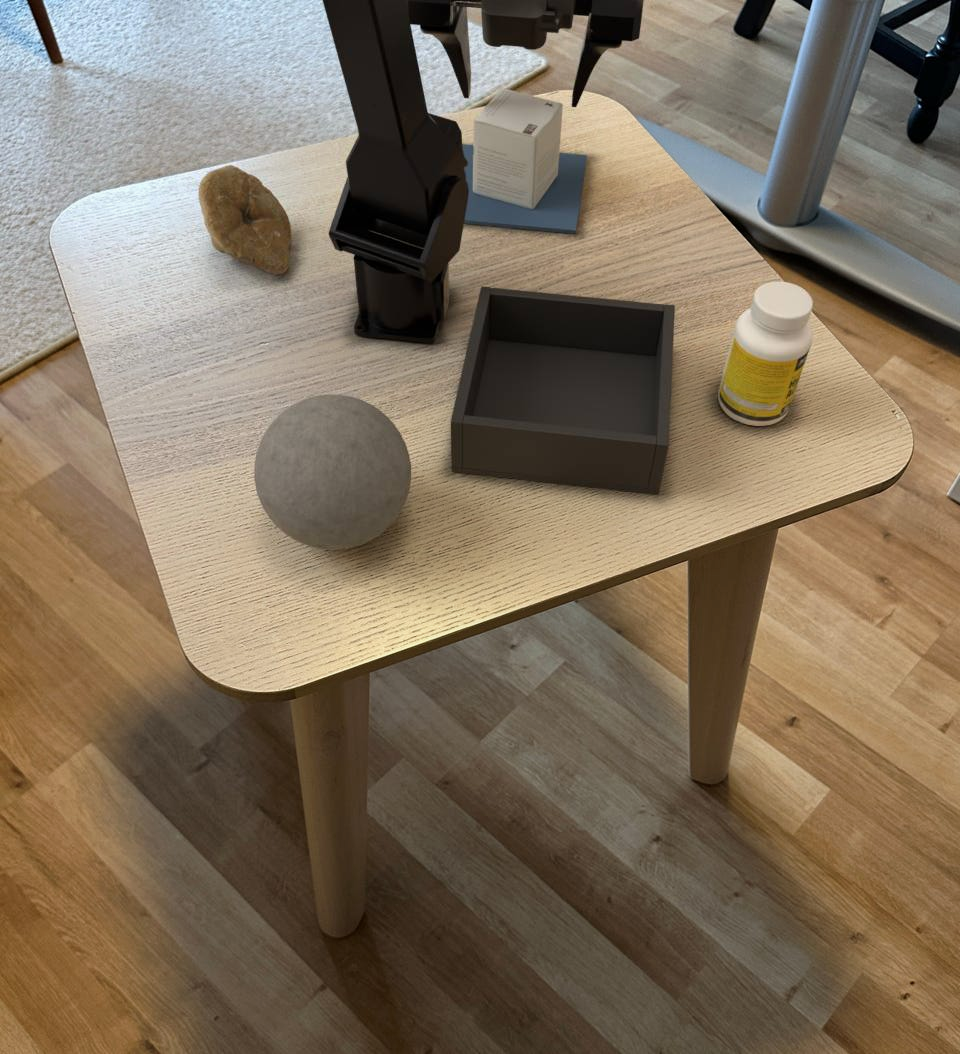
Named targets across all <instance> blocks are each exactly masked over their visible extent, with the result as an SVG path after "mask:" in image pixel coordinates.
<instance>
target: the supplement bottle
mask: <svg viewBox="0 0 960 1054" xmlns="http://www.w3.org/2000/svg"><path fill="white" fill-rule="evenodd" d="M813 307H814V301H813V298H812V296H811V294H809V292H808V291H807V290H805V289H804V288H803V287H801V286H800V285H797V284H796V283H795V284H794V283H791V282H787V281H770V282H767V283H766V282H765V283H764V284H761V285H760V286H759V287H758V288H757V289H756V290H755V291H754V294H753V297H752V300H751V304H750V308H748V309H746V310H745V311H744V312H742V313H741V314H740V316H738V318H737V321H736V323H735V326H734V330H733V332H732V338H731V341H730V345H729V349H728V352H727V356H726V361H725V364H724V367H723V372H722V375H721V378H720V383H719V387H718V391H717V401H718V404H719V405H720V408H721V409H722V411H723V412H724V413H725V414H726V415H727V416H728V417H730V418H731V419H733V420H735V421H736V422H738V423H741V424H744V425H749V426H756V427H763V426H771V425H774V424H776V423H779V422H781V420H783V419H784V418H785V417H786V416H787V414H788V413H789V411H790V408H791V406H792V403H793V400H794V397H795V393H796V392H797V391H796V390H797V388H798V384H799V382H800V378H801V376H802V373H803V369H804V367H805V363H806V361H807V358H808V355H809V353H810V350H811V346H812V343H813V342H812V341H813V330H812V327H811V325H810V323H809V320H810V318H811V313H812V311H813Z"/></svg>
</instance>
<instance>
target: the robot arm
mask: <svg viewBox="0 0 960 1054" xmlns="http://www.w3.org/2000/svg"><path fill="white" fill-rule="evenodd" d="M321 1H322V4H323V8H324V12H325V15H326V18H327V23H328V26H329V30H330V34H331V36H332V40H333V41H332V42H333V44H334V48H335V52H336V55H337V59H338V62H339V66H340V70H341V73H342V77H343V80H344V83H345V87H346V91H347V95H348V98H349V99H348V100H349V102H350V106H351V109H352V114H353V116H354V117H353V118H354V120H355V124H356V127H357V134H358V135H357V137H356V139H355V142H354V143H353V146H352V148H351V150H350V152H349V154H348V155H347V158H346V159H345V169H346V174H347V177H346V180H345V183H344V185H343V189H342V192H341V195H340V198H339V200H338V203H337V207H336V209H335V213H334V215H333V218H332V221H331V224H330V227H329V230H328V237H329V239H330V242H331V243H332V247H334V249H335V250H336V251H338V252H345V253H348V254H351V255H353V266H354V267H353V268H354V276H355V277H354V278H355V288H356V298H357V308H358V313H357V317H356V320H355V323H354V325H353V331H354V334H355V335H356V336H359V337H368V338H378V339H388V340H396V341H397V340H398V341H406V342H417V343H427V344H431V343H434V342H435V341H436V338H437V335H438V330H439V327H440V324H442V323H443V322H445V320H446V317H447V312H448V309H449V304H450V271H449V269H450V268H449V267H450V266H449V265H450V264H449V263H450V262H452V260H453V259H454V257H455V256H456V255H457V254H458V253H459V252H460V250H461V244H462V236H463V231H464V225H465V224H464V221H465V215H466V209H467V203H468V196H469V188H468V183H467V181H466V174H465V170H464V167H466V166H467V165H468V161H467V159H466V158H465V156H464V152H463V146H462V144H463V133H462V130H461V128H460V126H459V124H458V122H457V120H454V119H450V118H446V117H443V116H440V115H437V114H433V113H430V112H428V106H427V101H426V96H425V92H424V86H423V82H422V81H423V80H422V77H421V71H420V67H419V66H420V65H419V61H418V56H417V51H416V46H415V41H414V36H413V31H412V25H413V26H414V25H415V26H419V29H420V31H421V33H422V34H425V35H430V36H432V37H434V38H435V39H436V40H438V41H439V42H440V45H442V47H443V50H444V51H445V53H446V55H447V57H448V59H449V62H450V64H451V67H452V70H453V72H454V75H455V77H456V80H457V83H458V85H459V88H460V91H461V94H462V96H463V98H464V99H470V96H471V88H472V64H471V52H470V51H471V48H470V36H469V23H468V22H469V21H468V9H467V8H475V9H481V11H480V12H481V28H482V29H481V31H482V40H483V42H484V43H485V44H486V45H487V46H489V47H493V48H494V47H495V48H501V47H504V46H506V47H517V48H523V49H525V50H529V51H531V50H532V51H534V50H535V51H536V50H539V49H542V47H544V46H545V44H546V42H547V36H548V34H549V33H551V34H559V32H560V30H562V29H564V30H571V29H572V28H573V21H574V16H581V17H587V21H586V28H585V30H584V31H585V32H584V35H583V40H582V45H581V50H580V54H579V59H578V65H577V67H576V73H575V77H574V82H573V88H572V93H571V94H572V95H571V107H572V108H577V106H578V105H579V102H580V100H581V97H582V95H583V93H584V91H585V88H586V87H587V84H588V82H589V80H590V77H591V76H592V73H593V70H594V69H595V66H596V65H597V64H598V62H599V60H600V59H601V57H602V56H603V54H604V53H606V52H607V51H608V49H613V50H615V49H616V50H617V49H619V48H621V46H622V45H623V42H634V41H636V40H640V37H641V36H640V34H641V28H642V27H641V26H642V19H643V11H644V1H645V0H321Z"/></svg>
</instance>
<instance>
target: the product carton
mask: <svg viewBox="0 0 960 1054" xmlns="http://www.w3.org/2000/svg"><path fill="white" fill-rule="evenodd" d="M563 106H564V105H563V103H562V102H558V101H554V100H551V99H550V100H549V99H546V98H542V97H538V96H534V95H532V94H531V95H530V94H527V93H523V92H520V91H516V90H513V89H509V88H504V87H502V88H500V89H499V90H498V92H496V94H495V95H494V96H493V97H492V98H491V100H490V101H489V102H488V103H487V104H486V105H485V106H484V108H483V109H482V110H481V111H480V112H479V113H478V114H477V116H476V117H475V118H474V119H473V134H472V136H473V137H472V138H473V140H472V141H473V142H472V145H473V192H474V193H475V194H478V195H481V196H485V197H489V198H492V199H496V200H500V201H503V202H507V203H511V204H514V205H518V206H521V207H525V208H529V209H534V208H535V206H536V205H537V203H538V202H539V201H540V199H541V198H542V197H543V195H544V194H545V192H546V191H547V190H548V188H549V187H550V185H551V184H552V182H553V181H554V180H555V178H556V177H557V175H558V164H559V153H561V151H560V149H561V135H562V123H563V122H562V121H563V120H562V119H563V109H564V107H563Z"/></svg>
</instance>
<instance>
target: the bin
mask: <svg viewBox="0 0 960 1054" xmlns="http://www.w3.org/2000/svg"><path fill="white" fill-rule="evenodd" d="M675 312H676V305H674V304H665V303H664V304H663V303H652V302H644V301H643V302H642V301H633V300H621V299H611V298H601V297H594V296H593V297H591V296H581V295H571V294H562V293H551V292H541V291H533V290H531V291H530V290H522V289H511V288H499V287H491V286H481V287H480V290H479V294H478V300H477V303H476V308H475V312H474V317H473V322H472V325H471V330H470V334H469V339H468V343H467V347H466V351H465V356H464V359H463V360H464V361H463V365H462V370H461V373H460V378H459V383H458V388H457V390H456V391H457V392H456V397H455V401H454V405H453V409H452V414H451V417H450V467H451V469H450V470H451V472H454V473H460V474H470V475H479V476H486V477H487V476H488V477H495V478H505V479H515V480H524V481H533V482H540V483H541V482H542V483H550V484H559V485H566V486H568V485H569V486H575V487H576V486H577V487H586V488H594V489H602V490H610V491H611V490H612V491H621V492H629V493H638V494H647V495H657V496H658V495H659V493H660V489H661V485H662V479H663V475H664V469H665V466H666V460H667V455H668V451H669V446H670V428H671V427H670V426H671V406H672V405H671V404H672V381H673V378H672V377H673V362H674V361H673V358H674V356H673V355H674V340H675V339H674V338H675V337H674V335H675V317H676V316H675V315H676V313H675Z"/></svg>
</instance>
